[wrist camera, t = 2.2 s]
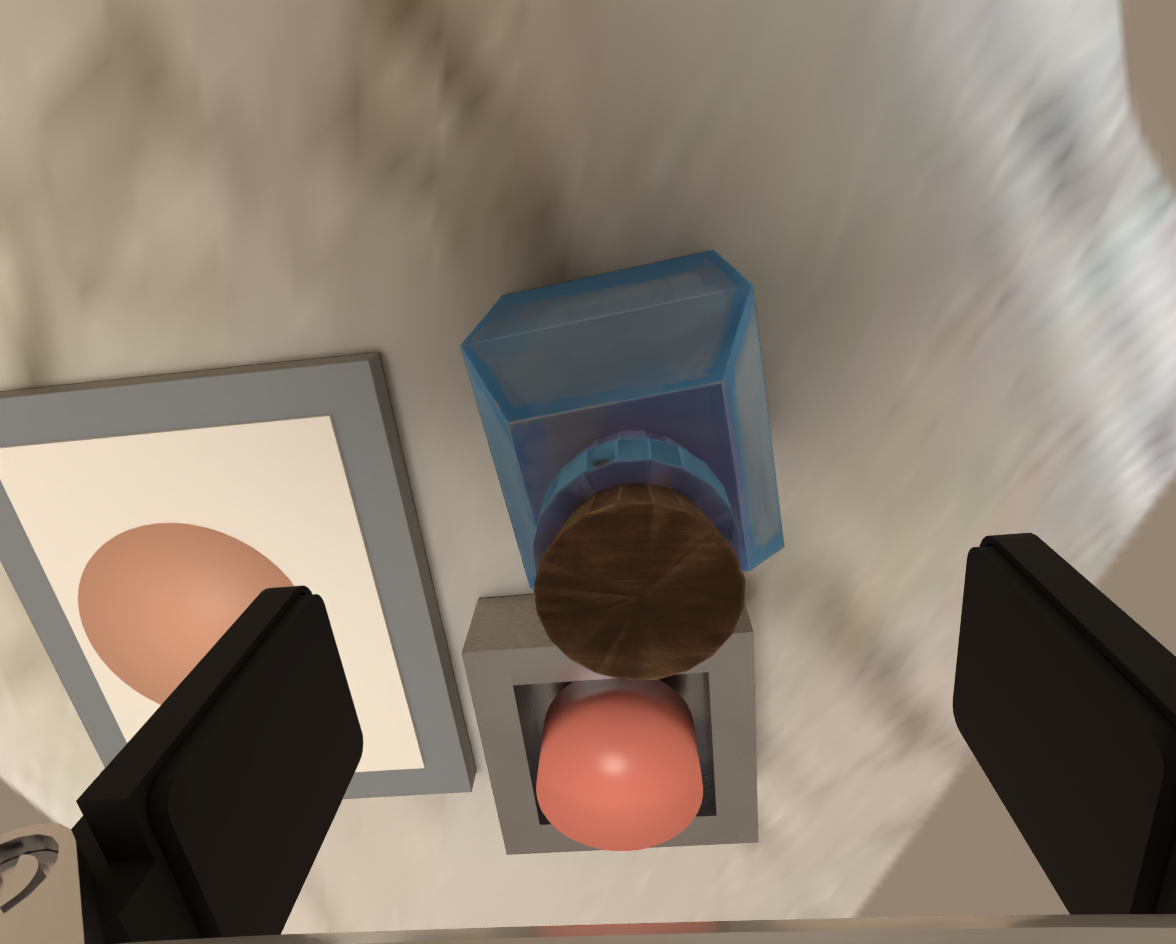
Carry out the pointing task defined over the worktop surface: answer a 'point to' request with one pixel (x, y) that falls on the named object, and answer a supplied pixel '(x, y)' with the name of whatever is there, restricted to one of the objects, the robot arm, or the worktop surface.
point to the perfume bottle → (632, 457)
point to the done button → (619, 764)
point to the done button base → (541, 670)
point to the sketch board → (229, 546)
